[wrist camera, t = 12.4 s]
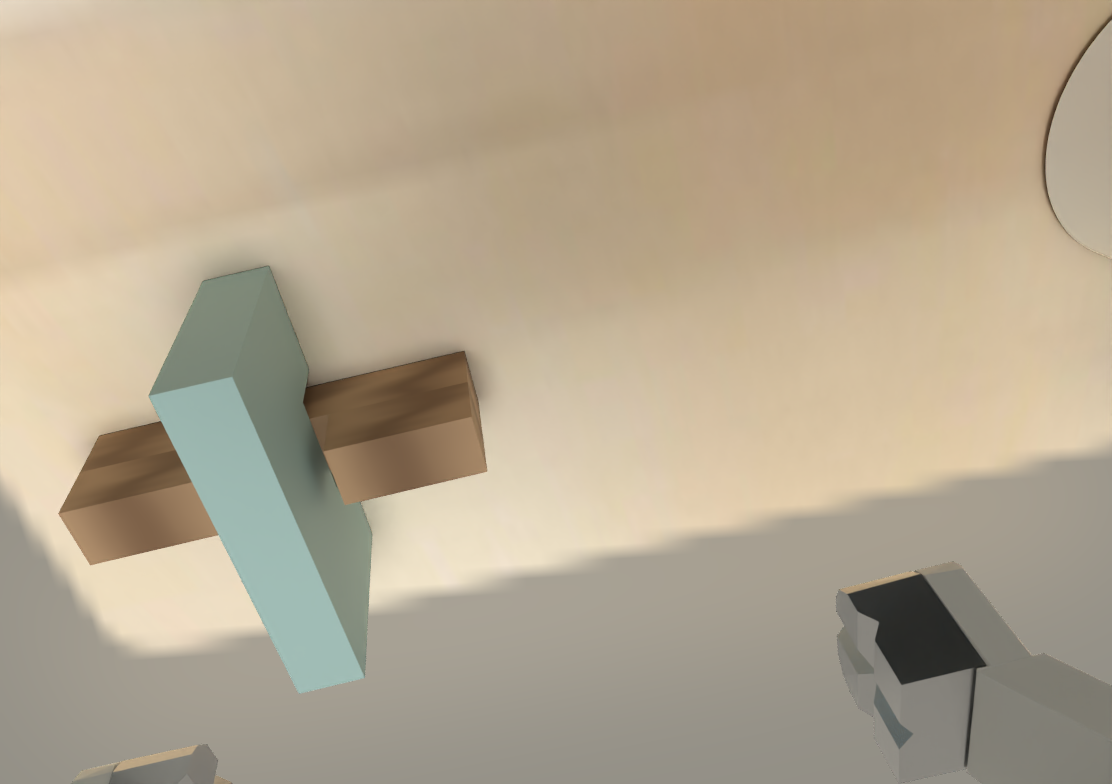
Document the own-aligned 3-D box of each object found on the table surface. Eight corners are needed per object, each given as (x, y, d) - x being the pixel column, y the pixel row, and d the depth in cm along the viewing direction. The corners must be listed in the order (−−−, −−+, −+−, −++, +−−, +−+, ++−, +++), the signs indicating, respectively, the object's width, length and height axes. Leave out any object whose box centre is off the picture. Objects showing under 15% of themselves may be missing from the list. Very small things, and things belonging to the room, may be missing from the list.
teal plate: (269, 265, 40) (232, 376, 32) (372, 533, 49) (364, 677, 40) (202, 280, 40) (148, 395, 32) (317, 546, 49) (298, 693, 40)
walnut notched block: (464, 351, 44) (471, 416, 39) (478, 401, 46) (487, 471, 40) (99, 436, 44) (58, 513, 38) (126, 484, 45) (90, 565, 40)
